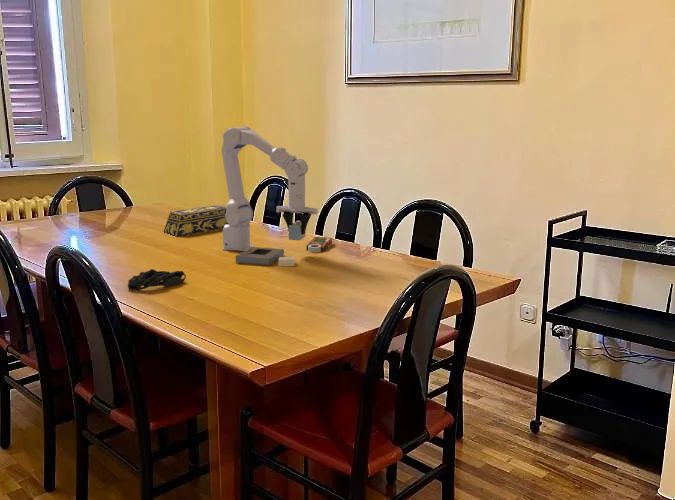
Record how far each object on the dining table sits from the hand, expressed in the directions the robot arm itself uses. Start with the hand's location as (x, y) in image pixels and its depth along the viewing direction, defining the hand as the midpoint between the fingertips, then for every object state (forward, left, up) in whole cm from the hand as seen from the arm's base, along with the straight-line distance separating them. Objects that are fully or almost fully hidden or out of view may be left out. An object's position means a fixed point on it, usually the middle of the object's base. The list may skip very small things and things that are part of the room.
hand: (297, 233), depth 232 cm
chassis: (-10, -9, -8) cm, 16 cm away
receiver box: (+1, -13, -8) cm, 15 cm away
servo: (0, 0, -2) cm, 2 cm away
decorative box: (-53, +31, -9) cm, 62 cm away
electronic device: (+4, +13, -8) cm, 16 cm away
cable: (-30, -45, -8) cm, 55 cm away
